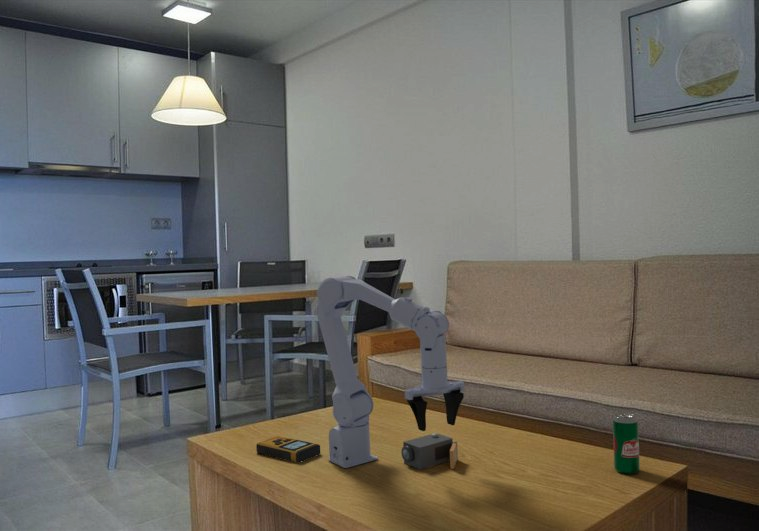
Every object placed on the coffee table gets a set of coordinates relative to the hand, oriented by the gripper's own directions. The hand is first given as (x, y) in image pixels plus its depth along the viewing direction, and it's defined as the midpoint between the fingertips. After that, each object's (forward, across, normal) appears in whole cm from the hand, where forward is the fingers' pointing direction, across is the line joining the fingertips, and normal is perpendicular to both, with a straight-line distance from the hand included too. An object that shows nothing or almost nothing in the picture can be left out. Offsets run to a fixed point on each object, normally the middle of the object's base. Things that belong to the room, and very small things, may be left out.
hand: (436, 427), depth 138 cm
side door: (+10, +5, +2) cm, 11 cm away
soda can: (+10, +34, -22) cm, 42 cm away
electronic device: (+10, -25, +32) cm, 42 cm away
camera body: (+10, +2, +7) cm, 12 cm away
